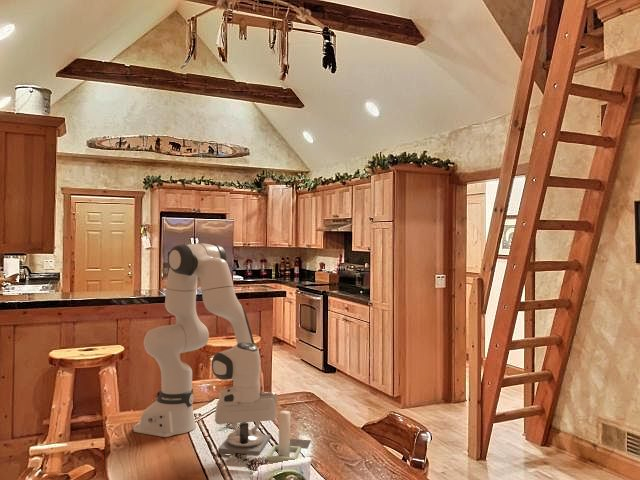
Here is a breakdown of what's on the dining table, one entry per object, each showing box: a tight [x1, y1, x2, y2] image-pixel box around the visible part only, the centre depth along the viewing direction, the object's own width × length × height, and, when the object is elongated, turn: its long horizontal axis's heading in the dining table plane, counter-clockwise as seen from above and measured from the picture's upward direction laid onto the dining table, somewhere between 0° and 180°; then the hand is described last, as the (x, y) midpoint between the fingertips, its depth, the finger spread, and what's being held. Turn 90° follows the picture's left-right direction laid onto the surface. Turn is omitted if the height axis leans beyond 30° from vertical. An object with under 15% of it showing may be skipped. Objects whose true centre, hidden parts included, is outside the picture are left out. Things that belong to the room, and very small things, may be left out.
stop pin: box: [278, 410, 291, 457], centre depth 160 cm, size 4×4×14 cm
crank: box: [226, 422, 264, 448], centre depth 168 cm, size 12×12×8 cm
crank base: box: [217, 434, 271, 456], centre depth 168 cm, size 14×14×2 cm
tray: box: [266, 444, 302, 462], centre depth 160 cm, size 9×9×2 cm
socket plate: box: [290, 438, 312, 449], centre depth 170 cm, size 7×7×1 cm
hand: (245, 434), depth 164 cm, fingers open, 4 cm apart
